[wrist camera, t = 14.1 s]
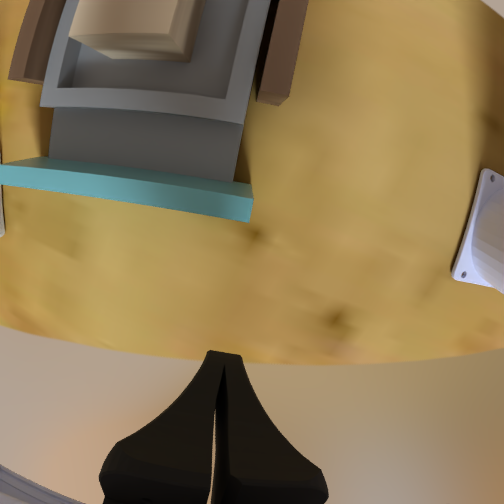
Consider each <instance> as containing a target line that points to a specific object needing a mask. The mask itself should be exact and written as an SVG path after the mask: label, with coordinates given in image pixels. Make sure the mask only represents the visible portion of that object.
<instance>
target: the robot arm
mask: <svg viewBox="0 0 504 504" xmlns="http://www.w3.org/2000/svg"><path fill="white" fill-rule="evenodd" d="M491 176H492V179H491V180H490V177H491ZM463 272H464V273H463ZM462 273H463V275H462V276H461V274H462ZM451 275H452V277H453V278H454V279H455V280H458V281H464V282H469V283H474V284H479V285H484V286H489V287H494V288H496V289H497V290H498V291H500V292H501V293H502V294H504V176H502V175H500V174H498V173H496V172H494V171H492V170H490V169H487V168H484V169H483V170H482V171H481V174H480V178H479V182H478V187H477V191H476V195H475V199H474V203H473V206H472V210H471V214H470V217H469V221H468V224H467V227H466V231H465V234H464V237H463V240H462V243H461V246H460V249H459V252H458V255H457V258H456V261H455V264H454V267H453V269H452V273H451ZM214 414H215V419H216V420H215V436H216V438H215V439H216V440H215V442H216V443H215V444H216V453H215V455H216V456H215V467H214V477H213V487H212V496H211V504H324V503H325V502H326V501H327V499H328V497H329V496H328V495H329V494H328V488H327V484H326V481H325V478H324V476H323V473H322V471H321V469H320V468H318V467H317V466H316V465H314V464H313V463H311V462H310V461H309V460H308V459H306V458H305V457H304V456H303V455H301V454H300V453H299V452H298V451H297V450H296V449H295V448H294V447H293V446H292V445H291V444H290V443H289V441H288V440H287V439H286V438H285V437H284V436H283V435H282V434H281V433H280V431H278V429H277V427H276V426H275V425H274V424H273V422H272V421H271V420H270V418H269V416H268V415H267V414H266V412H265V410H264V409H263V407H262V405H261V403H260V401H259V400H258V398H257V396H256V394H255V392H254V390H253V388H252V385H251V383H250V381H249V378H248V376H247V373H246V370H245V367H244V364H243V360H242V357H241V356H240V355H237V354H230V353H224V352H218V351H213V350H209V351H208V352H207V354H206V357H205V359H204V361H203V363H202V365H201V367H200V369H199V370H198V372H197V373H196V375H195V376H194V378H193V379H192V381H191V382H190V383H189V385H188V386H187V388H186V389H185V390H184V391H183V392H182V393H181V395H180V396H179V397H178V398H177V399H176V400H175V401H174V402H173V403H172V404H171V405H170V406H169V407H168V408H167V409H166V410H165V411H163V412H162V413H161V414H160V415H159V416H158V417H156V418H155V419H154V420H153V421H151V422H150V423H148V424H147V425H146V426H144V427H143V428H141V429H140V430H138V431H137V432H135V433H133V434H132V435H130V436H128V437H126V438H124V439H122V440H121V441H119V442H117V443H116V444H115V446H114V447H113V448H112V450H111V451H110V453H109V454H108V456H107V458H106V459H105V461H104V463H103V466H102V469H101V472H100V474H99V482H100V485H101V487H102V490H103V492H104V495H105V498H104V501H103V504H207V500H208V496H209V492H210V487H211V474H212V445H213V444H212V443H213V428H214ZM0 504H85V503H82V502H79V501H77V500H74V499H71V498H69V497H66V496H64V495H61V494H59V493H57V492H54V491H52V490H50V489H48V488H45V487H43V486H41V485H39V484H37V483H34V482H33V481H31V480H28V479H26V478H24V477H22V476H21V475H18V474H17V473H15V472H13V471H11V470H9V469H8V468H6V467H4V466H2V465H0Z"/></svg>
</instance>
